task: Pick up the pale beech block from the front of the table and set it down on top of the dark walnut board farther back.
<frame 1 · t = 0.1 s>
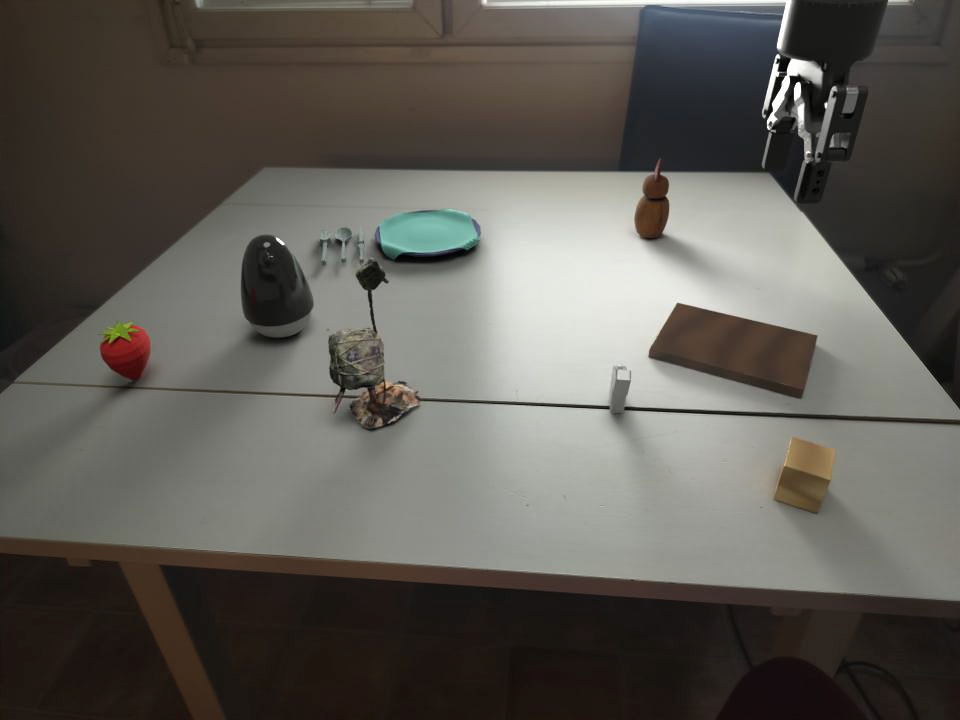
hand: (788, 184, 63), 30 cm above the table, tool pointing down, fingers open, 8 cm apart
lighter: (616, 411, 84), on the table
cutlery set: (401, 243, 125), on the table
walnut board: (732, 350, 94), on the table
wooden figurine: (649, 235, 126), on the table
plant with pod: (377, 410, 85), on the table
black egg shaped dome: (284, 329, 101), on the table
strawberry: (139, 380, 91), on the table
beech block: (798, 491, 72), on the table
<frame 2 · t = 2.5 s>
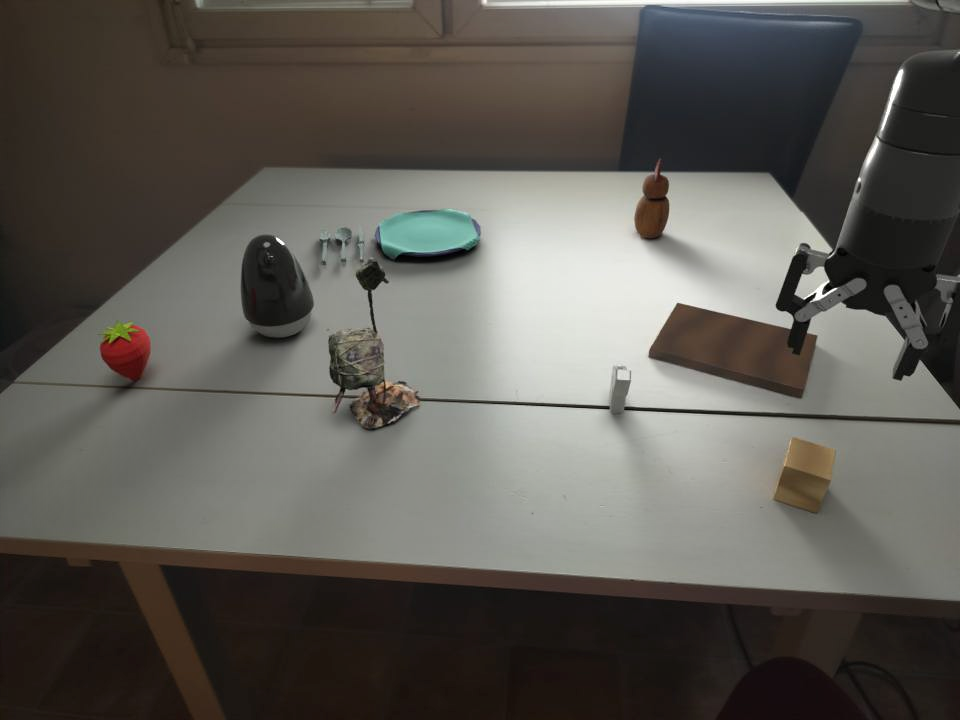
hand: (845, 362, 62), 17 cm above the table, tool pointing down, fingers open, 8 cm apart
nothing on the table moved.
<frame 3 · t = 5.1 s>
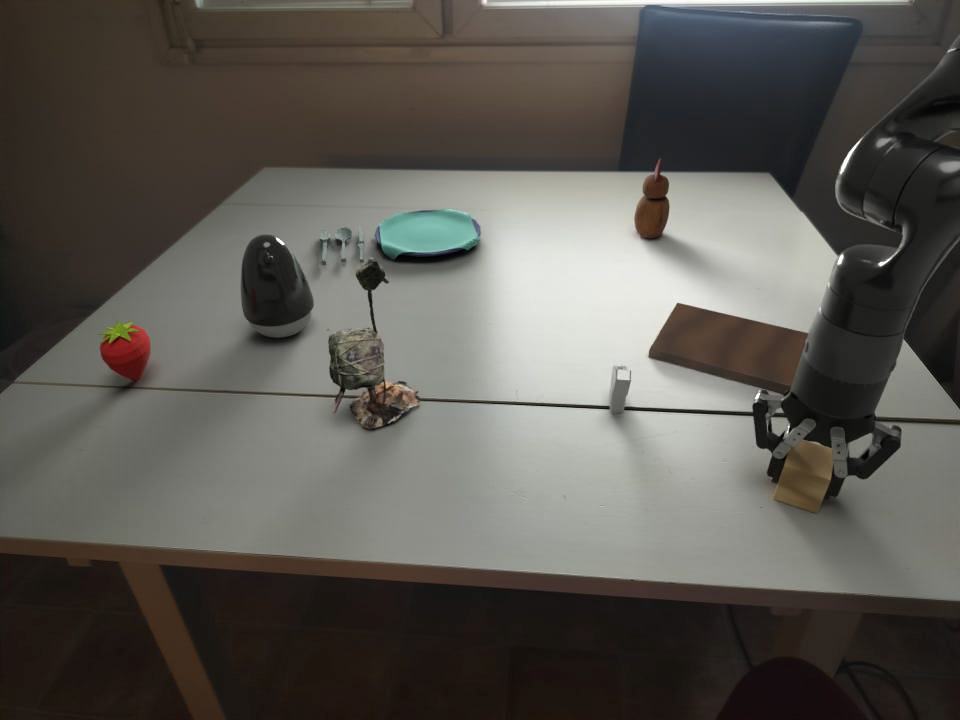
hand: (799, 485, 72), 1 cm above the table, tool pointing down, fingers closed on beech block, 4 cm apart
beech block: (798, 491, 72), on the table, touching gripper
everything else where it was.
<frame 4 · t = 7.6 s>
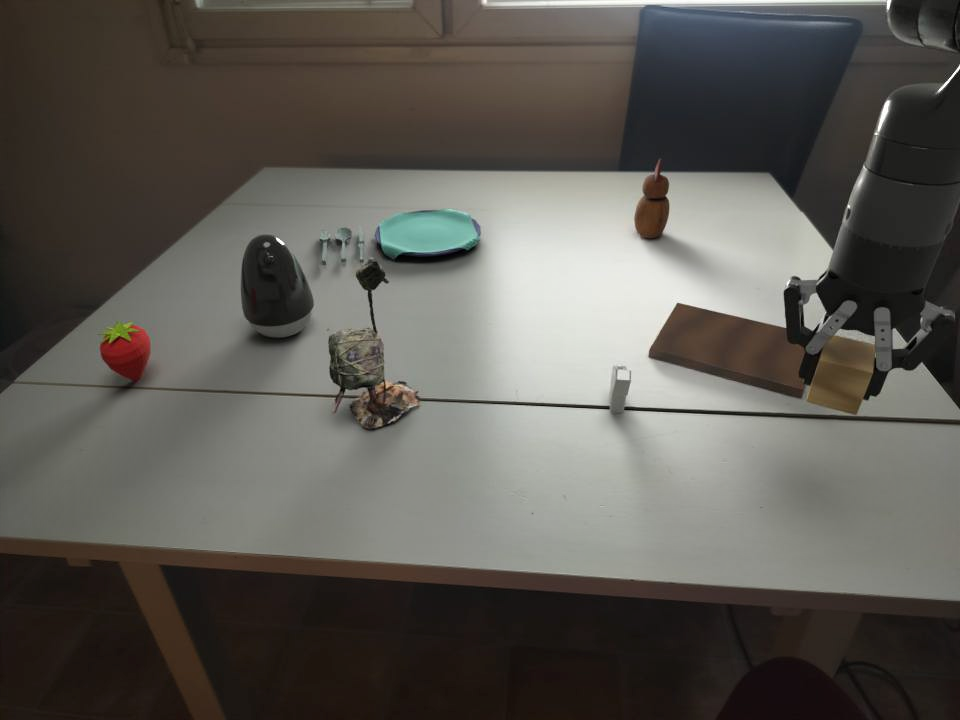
hand: (835, 387, 64), 14 cm above the table, tool pointing down, fingers closed on beech block, 4 cm apart
beech block: (833, 394, 65), point 13 cm above the table, touching gripper
everything else where it was.
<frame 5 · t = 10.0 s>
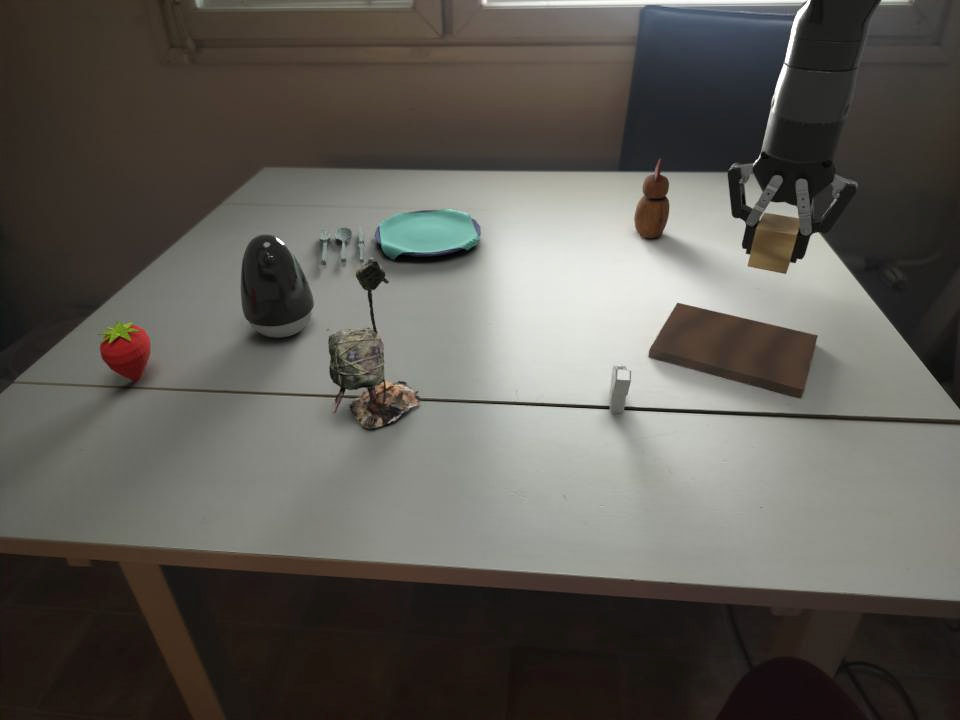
hand: (771, 255, 80), 17 cm above the table, tool pointing down, fingers closed on beech block, 4 cm apart
beech block: (769, 261, 81), point 16 cm above the table, touching gripper
everything else where it was.
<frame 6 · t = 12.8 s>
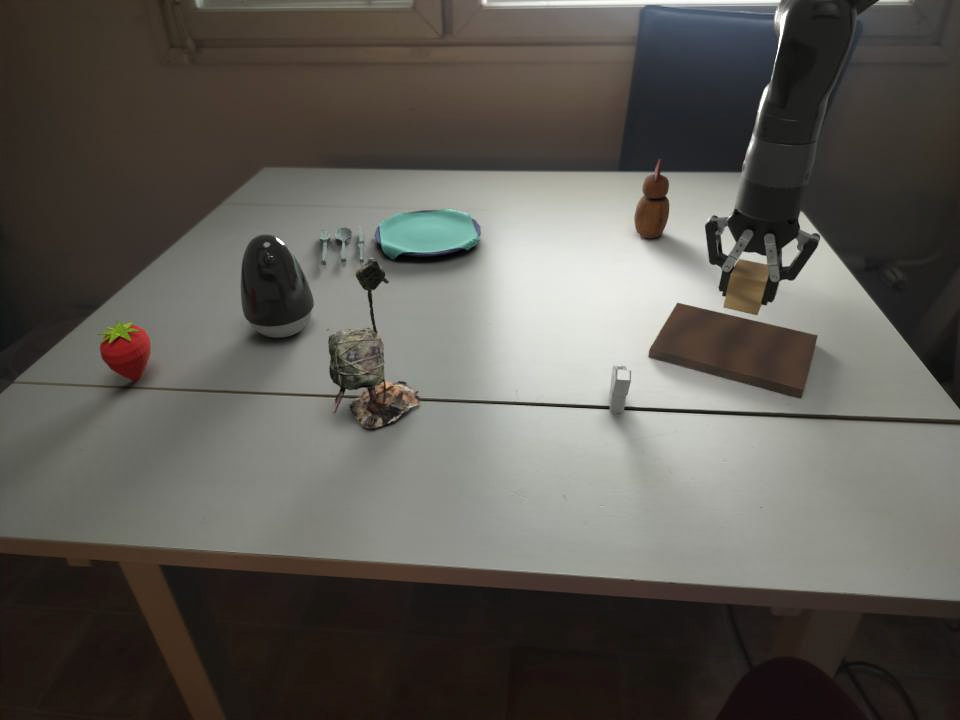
hand: (745, 297, 89), 9 cm above the table, tool pointing down, fingers closed on beech block, 4 cm apart
beech block: (743, 303, 90), point 8 cm above the table, touching gripper
everything else where it was.
when the fingers open (2 cm above the table, at t = 15.0 s): beech block stays where it is, resting on walnut board.
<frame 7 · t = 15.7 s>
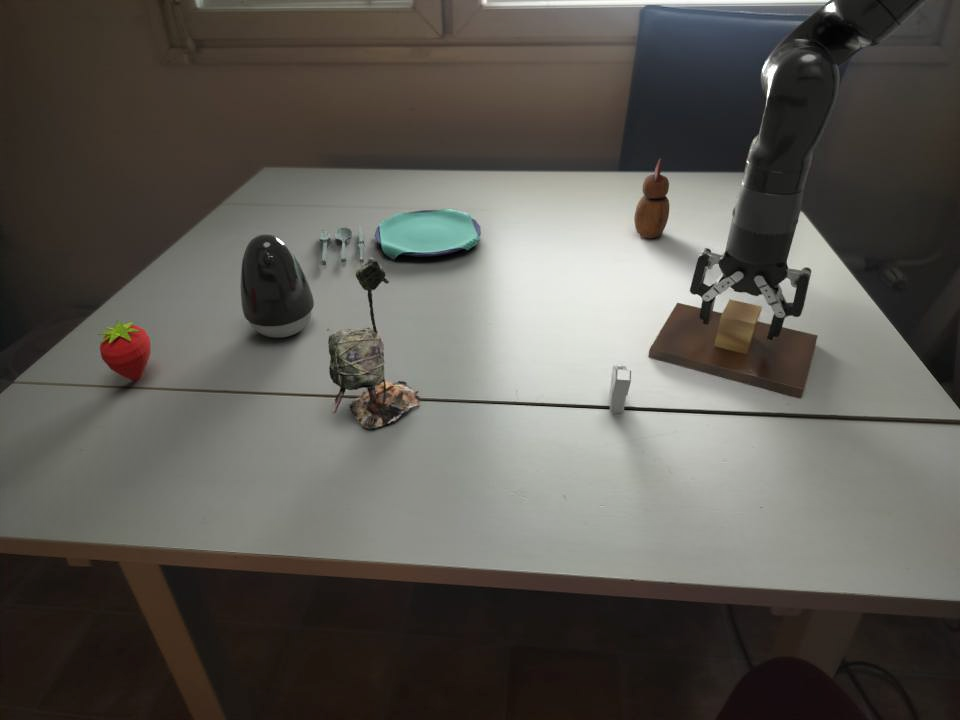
hand: (737, 329, 92), 4 cm above the table, tool pointing down, fingers open, 8 cm apart
beech block: (734, 341, 93), point 1 cm above the table, touching walnut board
everything else where it was.
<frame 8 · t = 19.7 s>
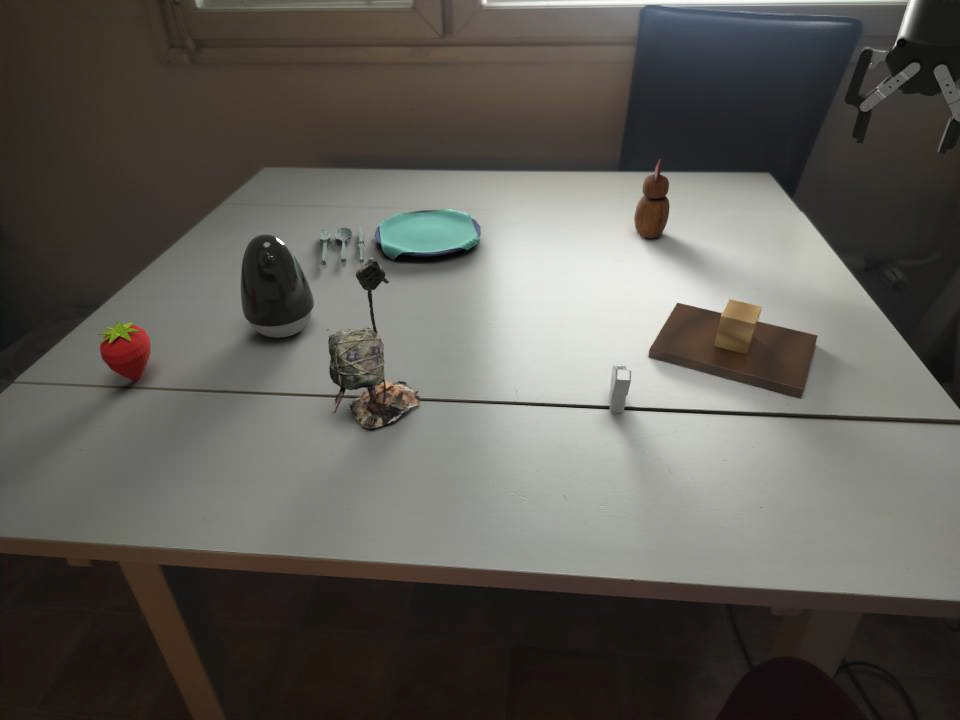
hand: (899, 147, 79), 28 cm above the table, tool pointing down, fingers open, 8 cm apart
nothing on the table moved.
at the end: beech block inside the target area on the walnut board (0.0 cm from its centre), point 1.5 cm above the walnut board's base; beech block touching walnut board; the gripper is holding nothing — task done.
